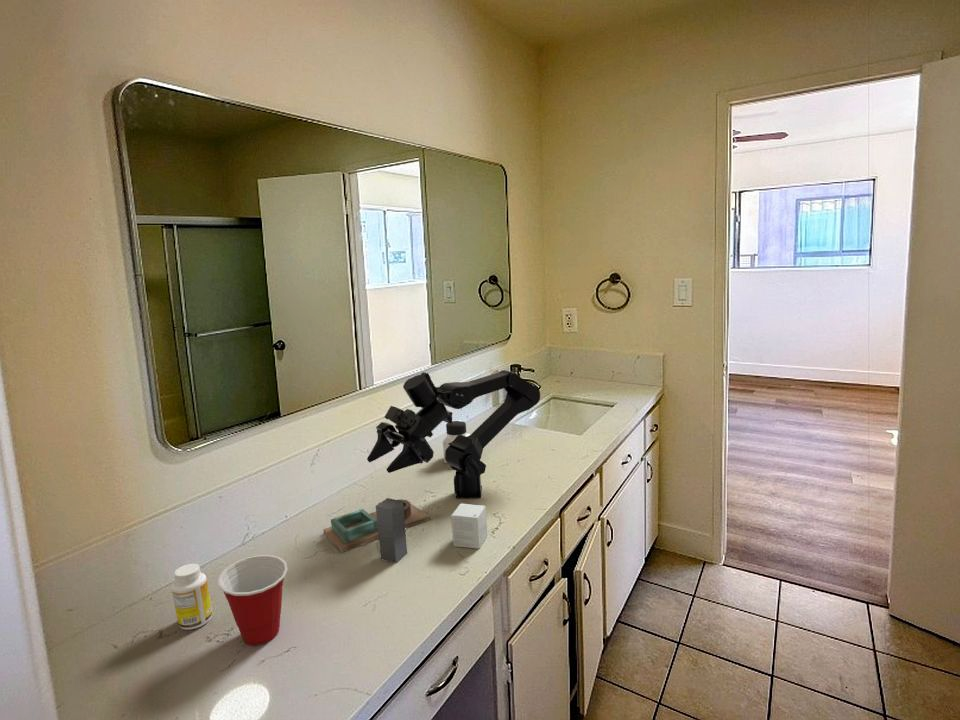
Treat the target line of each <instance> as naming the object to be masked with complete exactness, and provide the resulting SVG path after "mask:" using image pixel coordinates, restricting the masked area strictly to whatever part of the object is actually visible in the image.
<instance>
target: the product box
mask: <svg viewBox="0 0 960 720" xmlns="http://www.w3.org/2000/svg"><path fill="white" fill-rule="evenodd" d="M486 508H487V507H486V505H482V504H481V505H479V504H470V503H469V504H467V503H460V504H459V505H458V506H457V507H456V509H455V510H454V511H453V513H452V514H451V516H450V518H451V530H452V541H453V547H460V548H469V549H478V550H479V549H480V548H481V547H482V546H483V544H484V542H485V541H486V538H487V536H488V523H487V520H488V519H487V509H486Z"/></svg>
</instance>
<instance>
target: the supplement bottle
mask: <svg viewBox="0 0 960 720" xmlns="http://www.w3.org/2000/svg"><path fill="white" fill-rule="evenodd" d="M207 578H208V577H207V576H206V574H205V573H203V572H201V568H200V565H199V564H198V563H188V564H185V565H182V566H180V567H178V568H177V569H176V570H175V571H174V581H173V583H172V584H171V594H172V598H173V603H174V609H175V615H176V619H177V625H178V627H179V628H181V630H186V631H190V630H195V629H198V628H200V627H203V626H205V625H206V624H207V623H209V621H211V618H212V617H213V608H212V602H211V596H210V591H209V590H210V589H209V585H208V579H207Z"/></svg>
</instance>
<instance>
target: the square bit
mask: <svg viewBox="0 0 960 720" xmlns="http://www.w3.org/2000/svg"><path fill="white" fill-rule="evenodd" d="M375 512H376V516H377V526H378V536H379V539H378V544H379V553H380V554H379V555H380V560H382V559H383V561H387V562H389V563H395V564H397V563H398V562H400V560H402V559H403V558H404V557H405V556H406V555H407V554H408V546H407V545H408V544H407V533H406V529H405V520H404V509H403V501H400V500H399V499H394V498H390V497H387V498H385V499H384V500H382V501H381V502H379V503H378V504H377V505H375Z"/></svg>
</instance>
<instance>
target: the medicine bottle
mask: <svg viewBox="0 0 960 720" xmlns="http://www.w3.org/2000/svg"><path fill="white" fill-rule="evenodd" d="M445 429H446V436H445V438H444V439H443V441H442V446H443V448H442V449H443V461H444V463H445V464H448V463H447V462H446V460H445V454H446V453H445V451H446V449H447V448H448V447H449V446H450V445H448V444H449V443H451V442H452V441H454V439H455V438H456V437H457V436H458V435H463V436H466V437H467V436H469V435H471V433H467V423H466V422H465V421H464V420H459V419H455V420H454V419H452V423H451V424H450V423H447V422H446V424H445Z"/></svg>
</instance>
